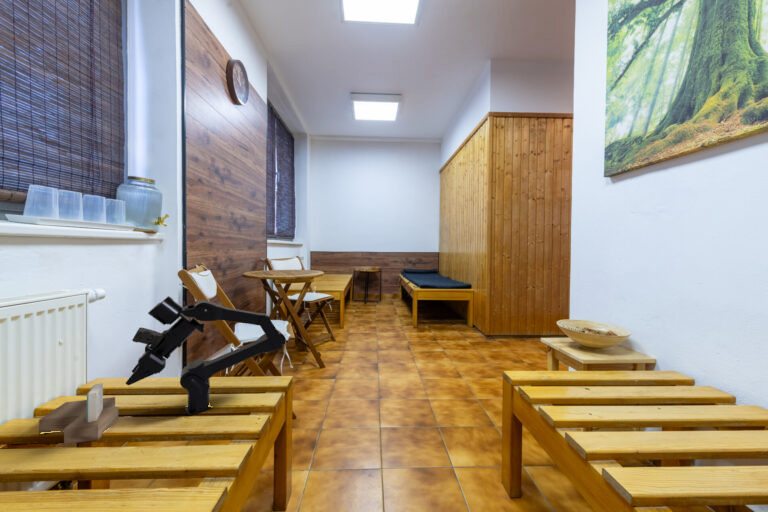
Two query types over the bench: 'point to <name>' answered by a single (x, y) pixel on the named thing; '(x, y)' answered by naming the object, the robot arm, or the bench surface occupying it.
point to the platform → (79, 421)
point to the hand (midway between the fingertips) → (130, 378)
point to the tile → (94, 402)
